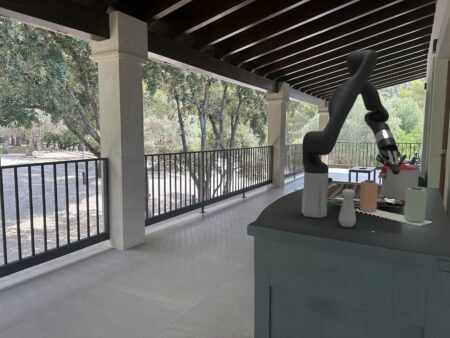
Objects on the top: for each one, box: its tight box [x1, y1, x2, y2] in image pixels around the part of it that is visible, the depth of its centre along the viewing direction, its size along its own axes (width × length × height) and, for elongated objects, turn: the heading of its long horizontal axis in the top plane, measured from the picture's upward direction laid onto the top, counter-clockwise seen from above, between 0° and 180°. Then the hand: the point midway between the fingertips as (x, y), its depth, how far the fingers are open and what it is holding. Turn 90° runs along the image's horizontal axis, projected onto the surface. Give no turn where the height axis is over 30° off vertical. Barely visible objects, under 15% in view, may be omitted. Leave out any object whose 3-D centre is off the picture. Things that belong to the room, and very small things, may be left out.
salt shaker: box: [338, 188, 357, 228], centre depth 121 cm, size 6×6×13 cm
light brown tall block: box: [359, 179, 379, 211], centre depth 143 cm, size 5×5×12 cm
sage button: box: [403, 186, 428, 222], centre depth 127 cm, size 5×5×12 cm
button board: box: [355, 208, 433, 227], centre depth 136 cm, size 28×9×1 cm, turn 33°
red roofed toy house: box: [377, 160, 420, 206], centre depth 161 cm, size 16×17×20 cm
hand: (396, 173), depth 141 cm, fingers closed
